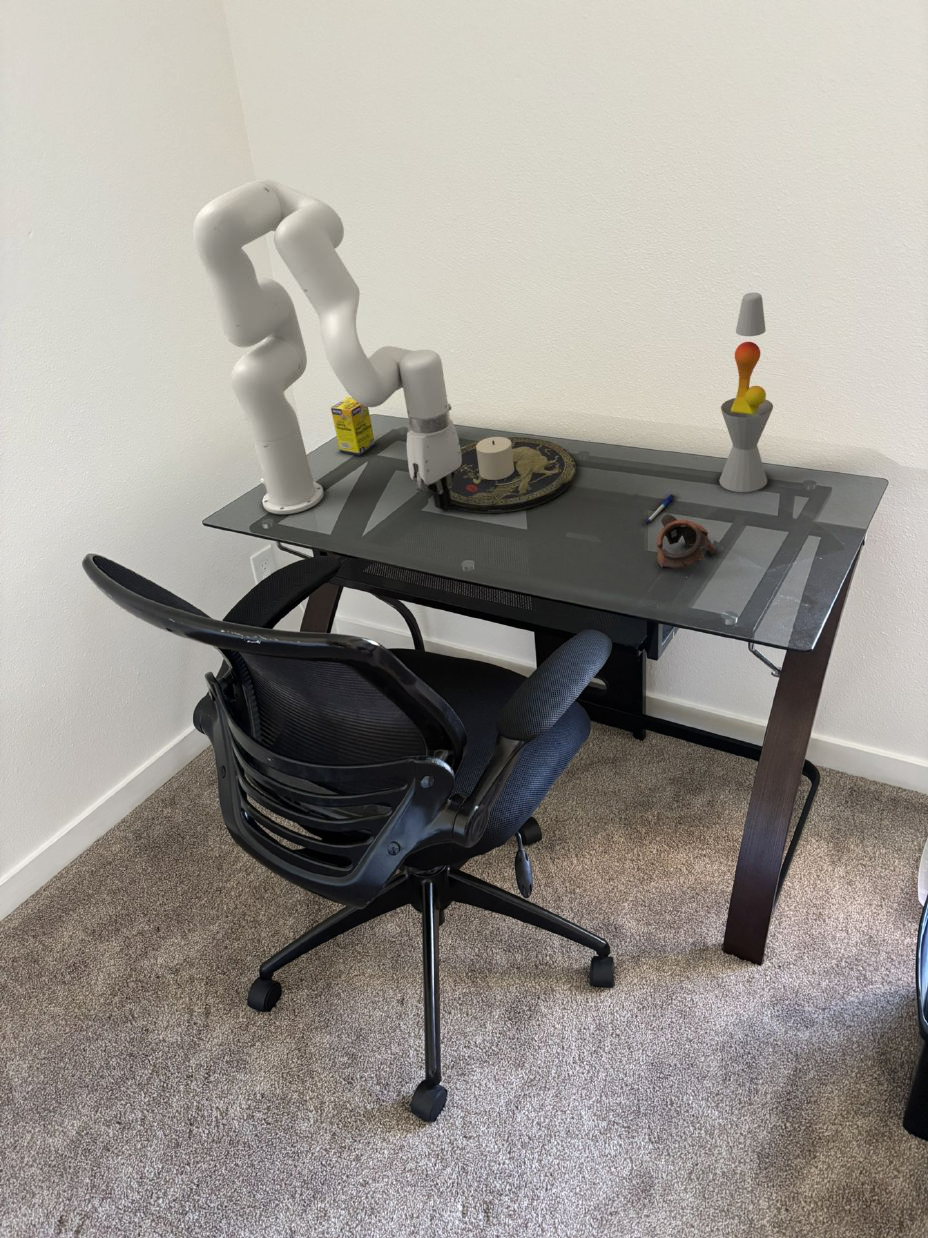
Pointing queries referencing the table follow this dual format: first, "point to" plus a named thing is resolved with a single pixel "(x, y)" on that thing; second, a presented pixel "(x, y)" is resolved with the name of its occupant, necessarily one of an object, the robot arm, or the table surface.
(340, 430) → the supplement box
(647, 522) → the ballpoint pen
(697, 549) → the pottery mug
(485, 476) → the candle
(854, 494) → the table surface
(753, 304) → the lava lamp
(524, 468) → the decorative plate
